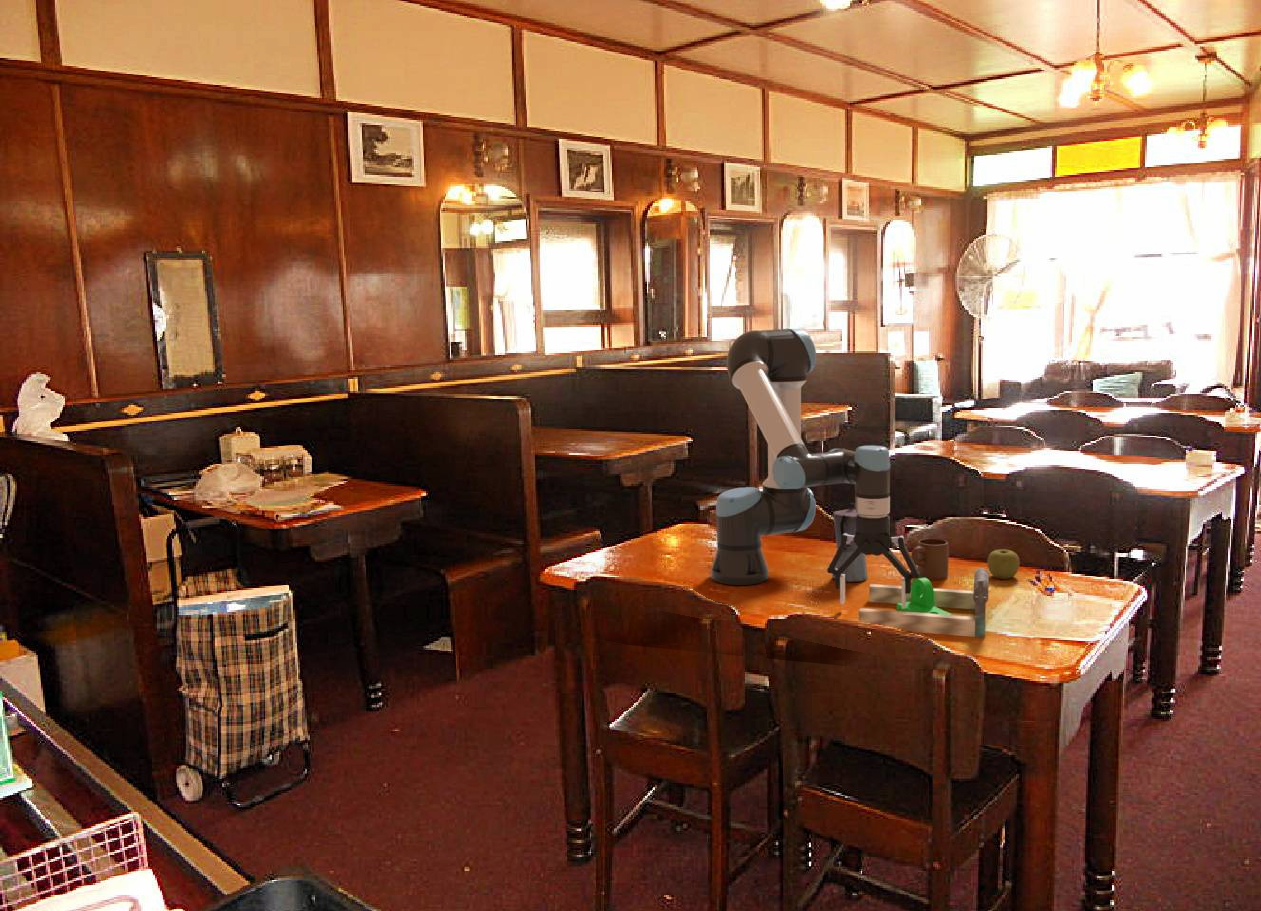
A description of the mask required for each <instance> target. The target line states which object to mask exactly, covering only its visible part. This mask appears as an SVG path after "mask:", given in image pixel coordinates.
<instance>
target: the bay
mask: <svg viewBox="0 0 1261 911" xmlns="http://www.w3.org/2000/svg"><path fill="white" fill-rule="evenodd" d="M989 575H990V574H989V570H987V569H986V568H983V567H979V568H977V569H976V570H975V572H974V578H973V579H974V580H973V590H961V589H952V588H951V589H949V588H946V589H945V588H934V587H933V590H934V605H935V607H937V608H938V607H939V608H948V609H949V608H951V609H963V610H975V611H974V613H975V614H974V616H967V615H965V616H963V615H955V614H953V615H942V614H929V613H916V612H903V611H899V610H887V609H875V608H863V607H860V608H859V610H858V623H859V622H864V623H870V624H878V625H883V626H889V627H893V628H897V629H901V630H906V631H905V632H908V631H912V632H911V633H924V634H932V635H933V634H936V635H945V636H948V635H949V636H958V637H959V636H961V637H970V638H971V637H972V638H986V613H987V612H986V610H987V609H986V608H987V603H988V601H989V583H990V581H989V579H990V578H989V577H990V576H989ZM868 596H869V597H868V598H869V600H868V601H869V602H868V603H878V604H879V603H880V604H881V603H882V604H893V605H895V604H896V605H897V604H898V603H902V585H893V584H892V585H891V584H875V583H870V585H869V595H868ZM909 601H911V592H910V594H906V602H909Z"/></svg>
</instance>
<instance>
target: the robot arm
mask: <svg viewBox="0 0 1261 911" xmlns="http://www.w3.org/2000/svg"><path fill="white" fill-rule="evenodd" d="M816 364H817V350H816V346H815V343H814V340H813V339H812V338H811V336H810V335H809V334H808V333H807V332H806V331H805V330H803V329H799V328H789V327H788V328H779V329H761V330H759V329H757V330H749V331H747V332H744V333H742V334H740V335H738V337H737V338H736V339H734V340H733V343H732V344H731V346H730V347H729V350H728V352H727V355H726V371H727V373H728V377H729V378H730V381H731V383H732V386H734V388H736V389H737V390H740V392H741V394H742V396H743V397H744V400H745V402H746V403H747V406H748V408H749V410H750V411H751V413H752V415H753V418H754V419H755V421H756V423H757V426H758V427H759V429H760V431H761V433H762V436H763V437H764V439H765V441H766V443H767V459H768V460H767V465H768V466H767V468H768V469H767V471H768V472H767V474H768V476H767V478H766V479H765V480H764V481H763V482H762V491H761V490H760V489H759V488H758V487H752V486H746V487H737V488H736V487H735V488H731V489H729V490H725V491H723V492H721V493H720V494H719V495H718V497H717V498H716V502H715V504H716V505H715V516H716V517H715V518H716V520H715V521H716V546H717V547H716V552H715V555H714V560H713V563H712V566H711V570H710V574H711V575H710V576H711V580H713V581H714V582H717V583H719V584H724V585H731V586H739V585H740V586H747V585H756V584H760V583H764V582H765V581H767V580H768V579H769V572H770V571H769V567H768V566H769V565H768V563H767V561H766V558H765V555H764V552H763V549H762V537H767V536H773V535H782V534H788V533H789V534H794V533H797V532H802V531H805V530H806V529H808V528H809V527H810V525H812V524H813V522H814V519H815V516H816V511H817V504H816V503H817V502H816V498H814V497H815V495H814V493H813V491H812V490H811V488H809V487H817V486H828V485H836V484H838V485H839V484H851V485H853V486H854V485H855V486H854V487H855V510H856V513H857V514H858V515H857V516H856V533H855V536H854V535H848V534H847V533H844V534H843V535H842V538H841V545H840V547H839V549H838V550H837V549H836V551H837V552H836V553H835V555H834V556H833V557H832V560H831V562H830V564H829V566H828V567H827V569H826V571H827V574H831V575H833V574H834V575H835V578H834V580H835V583H834V584H835V590H839V604H840V605H845V603H846V581H845V574H842V573H843V572H844V571H845V569H846V568H847V567H848V566H849V565H850V564H851V563H852V562H853V561H854V560H855V559H856V558H857V557H858V556H859V555H860V554H861V553H863V554H865V556H872V555H873V556H877V557H878V556H881V555H883V556H884V557H885V558H886V559H887V560H888V561H889V563H890V564H892V565H893V567H894V568H895V569H896V570H897V572H898V573H899V574H900V575H901V586H902V609H905V607H906V594H910V592H911V585H912V581H913V580H914V579H919V578H920V577H919V570H918V566H917V565H915V563H914V561H913V559H912V557H911V553H910V551H909V549H908V548H907V546H906V542H905V535H903V534H902V535H901V534H899V536H891V529H890V528H891V517H890V515H889V514H890V512H891V510H890V509H891V496H890V492H891V490H890V488H891V486H890V485H891V461H890V450H889V449H888V447H885V446H883V445H882V446H881V445H862V446H861V445H860V446H858V447H857V448H856V449H855V451H854V450H849V449H846V448H832V449H830V450H829V451H827V452H816V453H810V452H809V451H808V449H807V446H806V445H805V443H804V441H803V440H802V387H803V386H804V384H806V382H807V380H808V378H807V377H808V375H807V374H809V373H812V371H813V370H814V368H815V366H816ZM851 541H854V542H855V544H856V545H857V546H858V547H857V548H856V549H855V551H854V552H853V553H852V554H851V555H850V556H849V557H848V558H847V559H846V560H845V561H844V563H843V564H842V565H841V566H840V567H839V568H838V569H837V568H835V566H836V564H837V562H838V560H839V558H840V556H841V555H842V553H843V551H844V549H845V547H846V545H847V544H850V542H851ZM893 543H894V545H895V547H898V549H899V552H900V554H901V556H902V557H903V559H904V561H905V563H906V565H907V567H908V568H906V566H905V565H904V564H903V563H902V562H901V561H900V559H899V558H898V557H897V556H896V555H895V554H894V553H893V551H892V550H891V549H890V545H891V544H893ZM908 569H909V570H908Z"/></svg>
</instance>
